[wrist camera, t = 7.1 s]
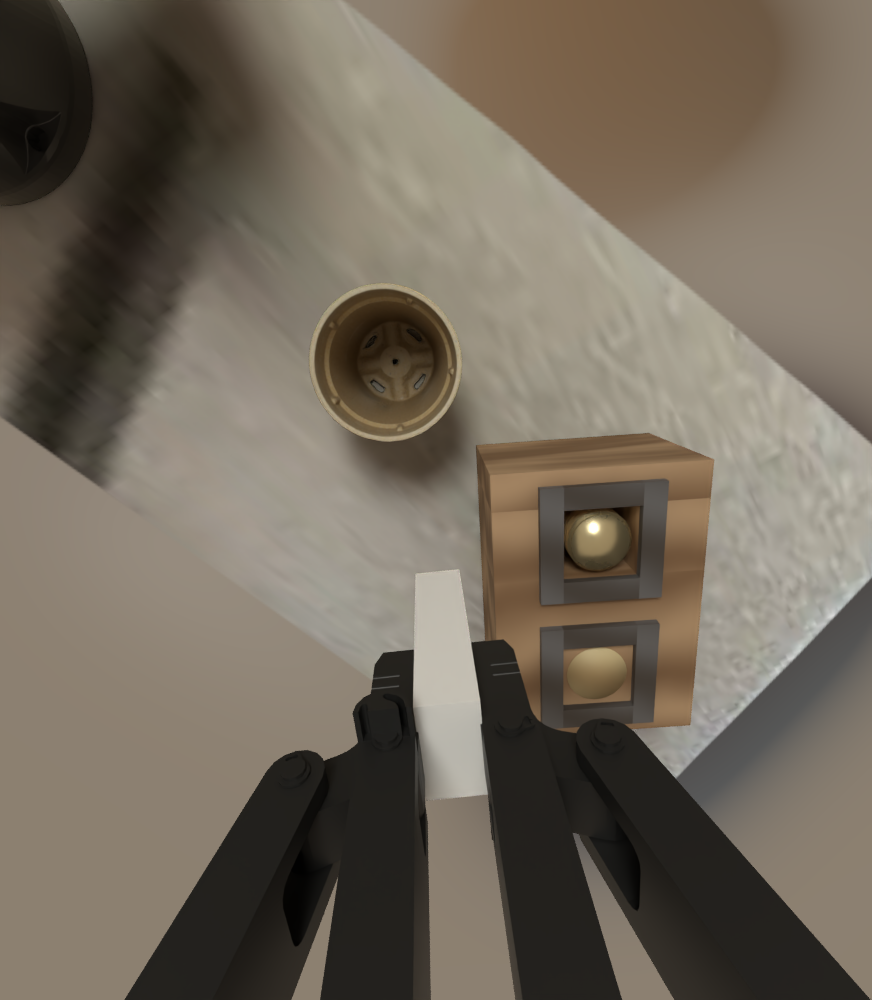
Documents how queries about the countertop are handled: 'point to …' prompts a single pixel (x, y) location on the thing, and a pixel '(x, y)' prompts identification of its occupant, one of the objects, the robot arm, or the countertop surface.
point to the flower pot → (385, 362)
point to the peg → (596, 538)
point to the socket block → (597, 575)
